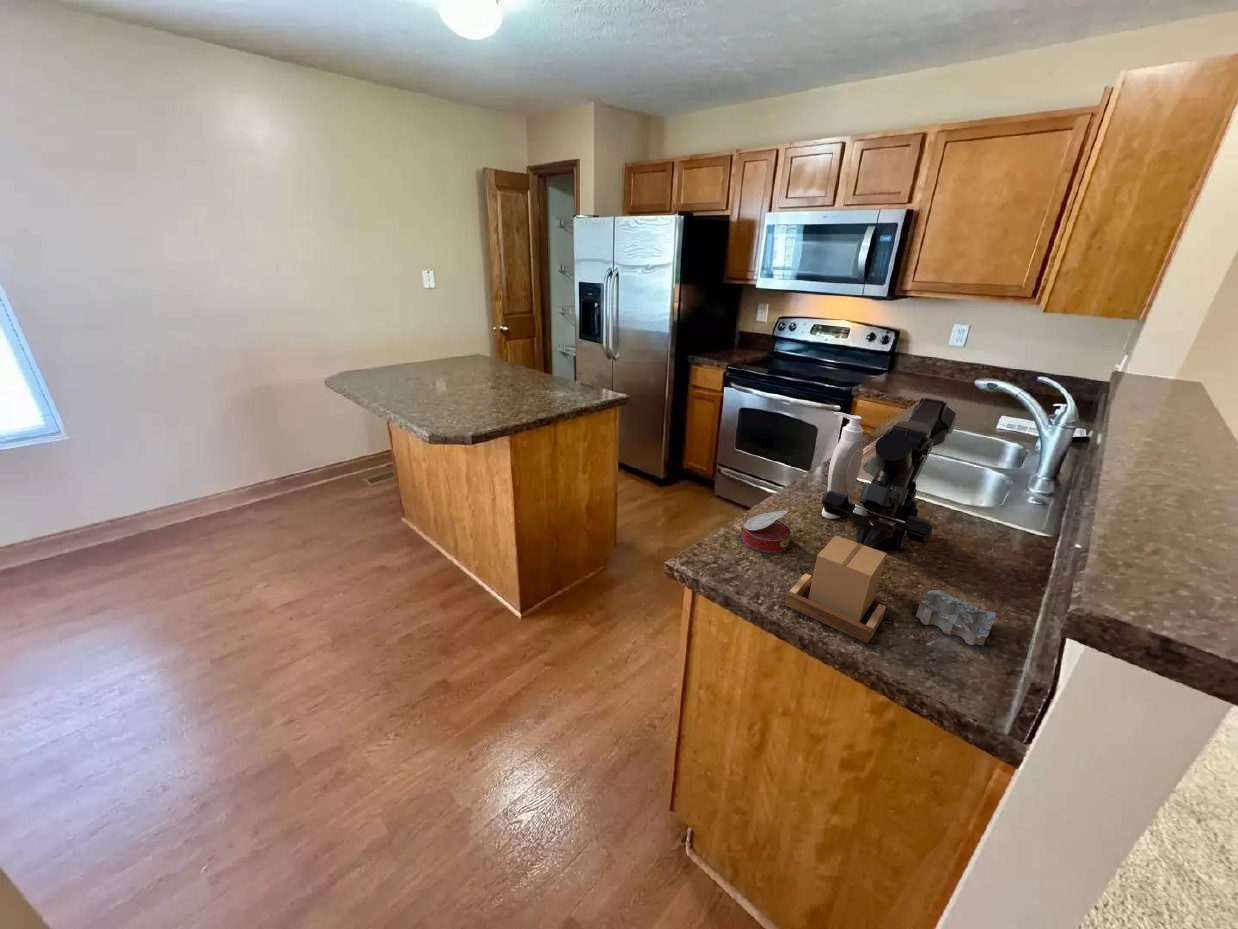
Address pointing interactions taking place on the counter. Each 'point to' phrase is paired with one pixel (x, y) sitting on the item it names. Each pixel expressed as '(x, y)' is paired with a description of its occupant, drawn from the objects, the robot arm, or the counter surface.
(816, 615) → the bay
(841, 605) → the cardboard box
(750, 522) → the canned food
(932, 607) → the egg carton
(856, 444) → the soap bottle
